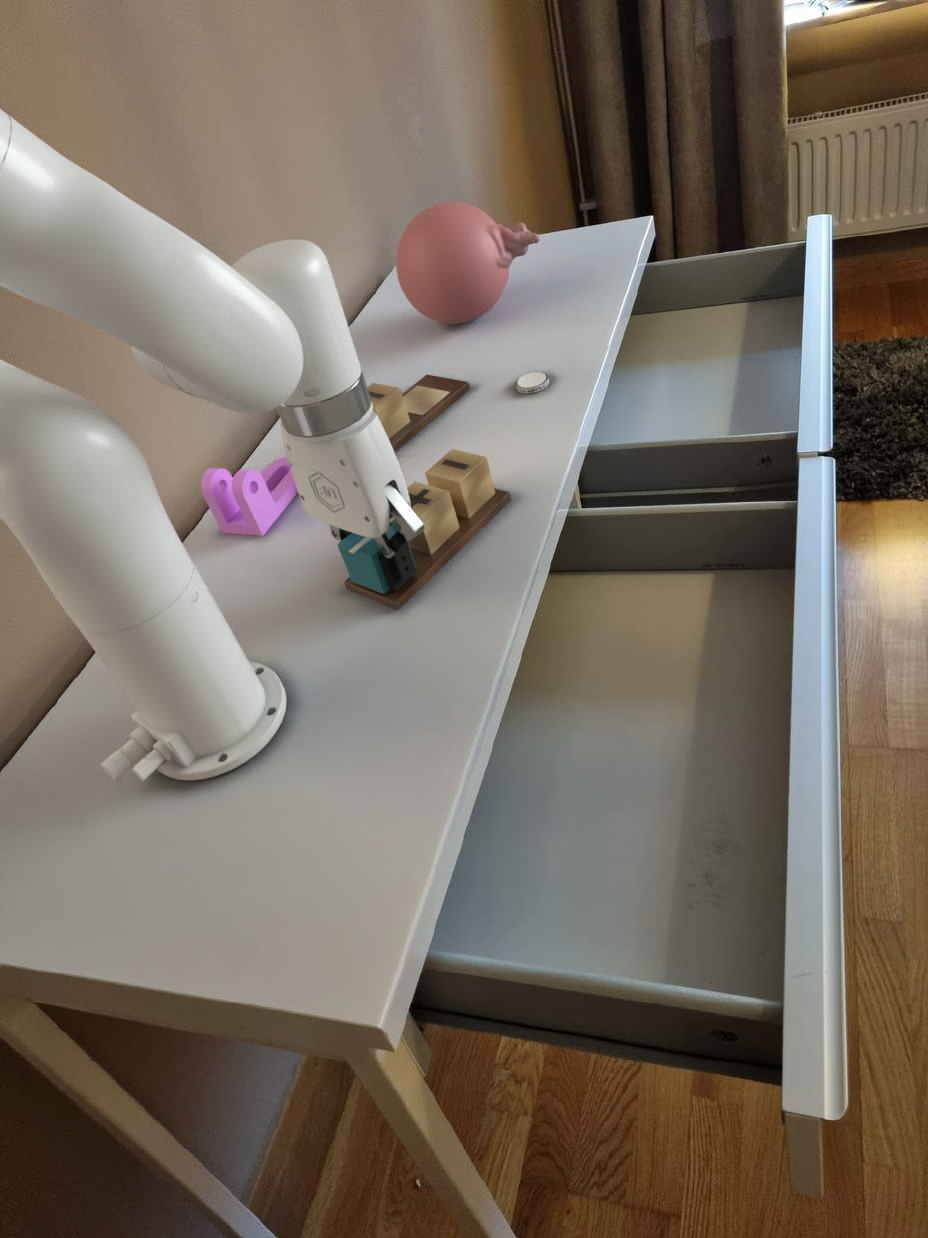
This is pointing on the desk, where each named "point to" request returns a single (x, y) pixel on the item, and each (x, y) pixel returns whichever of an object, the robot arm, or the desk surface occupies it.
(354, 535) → the striped teal cube
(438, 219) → the balloon
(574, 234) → the desk surface
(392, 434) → the far word
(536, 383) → the white flat disc
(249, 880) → the desk surface
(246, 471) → the bracket
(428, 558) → the wooden board with cubes
